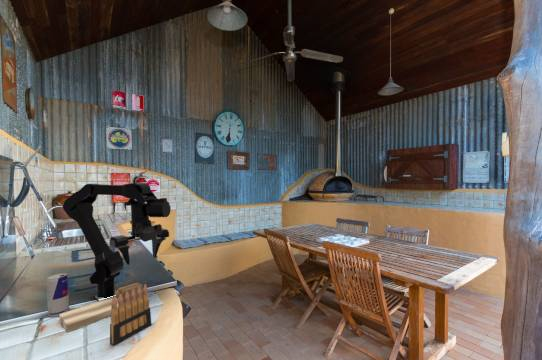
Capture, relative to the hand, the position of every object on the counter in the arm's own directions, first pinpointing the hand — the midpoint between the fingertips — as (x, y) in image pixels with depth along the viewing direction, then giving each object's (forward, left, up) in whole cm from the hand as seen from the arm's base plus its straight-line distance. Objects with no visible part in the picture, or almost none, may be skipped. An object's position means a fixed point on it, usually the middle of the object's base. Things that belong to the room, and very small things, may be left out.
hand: (141, 261), depth 94 cm
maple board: (0, -12, -13) cm, 18 cm away
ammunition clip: (+21, -12, -13) cm, 28 cm away
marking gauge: (+3, -7, -13) cm, 15 cm away
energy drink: (-11, -22, -13) cm, 28 cm away
